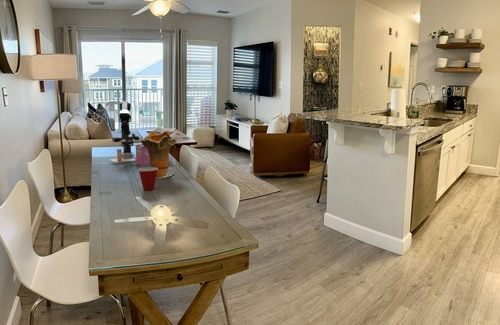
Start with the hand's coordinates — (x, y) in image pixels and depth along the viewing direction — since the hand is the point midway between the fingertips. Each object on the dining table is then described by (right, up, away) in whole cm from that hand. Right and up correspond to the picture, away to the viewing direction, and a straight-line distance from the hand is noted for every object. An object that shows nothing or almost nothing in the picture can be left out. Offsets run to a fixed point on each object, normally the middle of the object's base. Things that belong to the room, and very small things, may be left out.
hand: (126, 150), depth 296 cm
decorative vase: (+36, -17, -47) cm, 61 cm away
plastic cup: (+36, -24, -78) cm, 89 cm away
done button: (0, -5, +1) cm, 5 cm away
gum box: (+22, -9, -10) cm, 26 cm away
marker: (-2, -8, -10) cm, 13 cm away
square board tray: (-1, -8, -5) cm, 9 cm away
